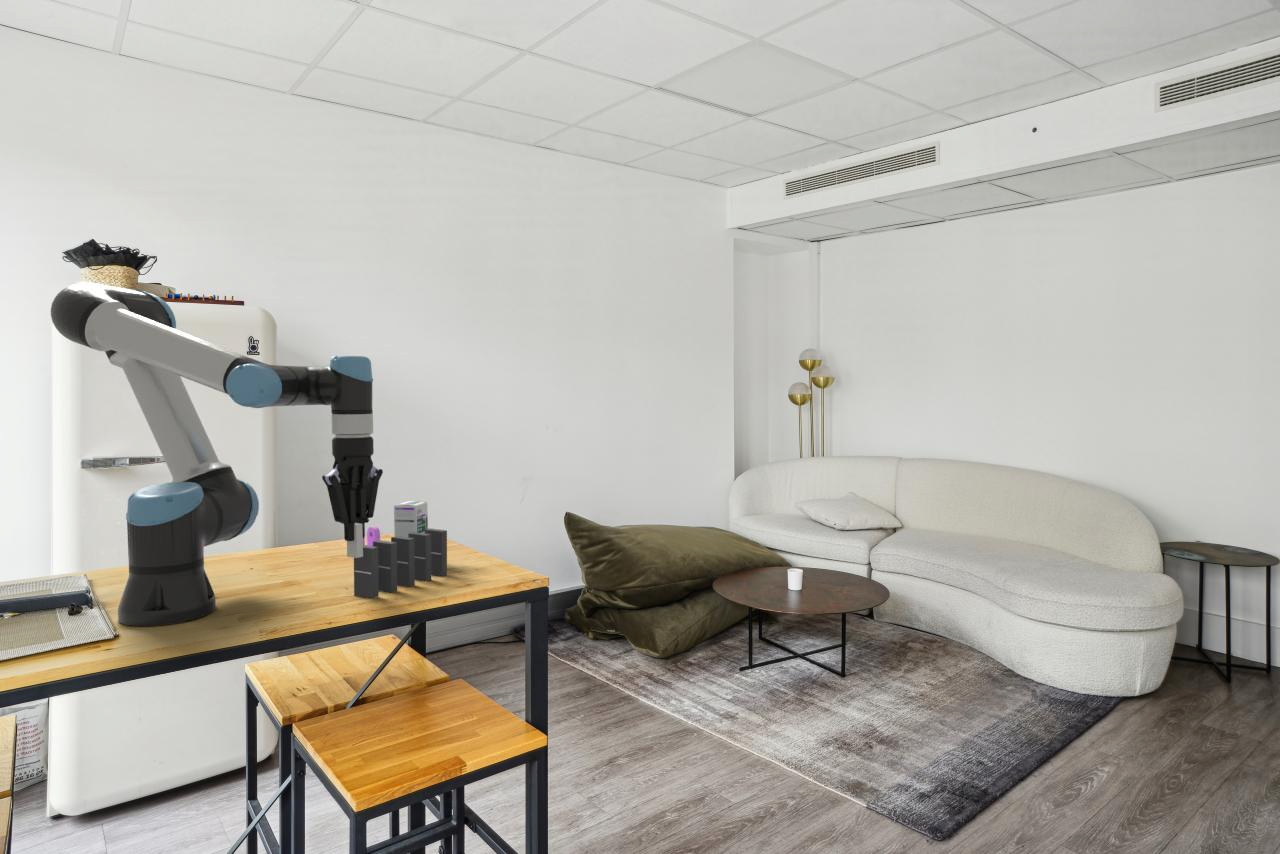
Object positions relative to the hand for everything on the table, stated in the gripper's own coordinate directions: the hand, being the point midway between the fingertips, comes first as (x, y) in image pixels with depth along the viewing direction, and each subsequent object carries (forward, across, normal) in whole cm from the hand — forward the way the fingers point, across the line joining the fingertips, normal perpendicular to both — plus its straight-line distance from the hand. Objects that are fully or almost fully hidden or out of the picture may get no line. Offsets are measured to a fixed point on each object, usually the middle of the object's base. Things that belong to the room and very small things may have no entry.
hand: (355, 556), depth 149 cm
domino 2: (+9, -8, 0) cm, 12 cm away
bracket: (+9, -28, -24) cm, 38 cm away
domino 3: (+9, -13, -1) cm, 16 cm away
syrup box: (+9, -28, -13) cm, 32 cm away
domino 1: (+9, -3, 0) cm, 9 cm away
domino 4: (+9, -18, -1) cm, 20 cm away
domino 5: (+9, -23, -1) cm, 25 cm away
